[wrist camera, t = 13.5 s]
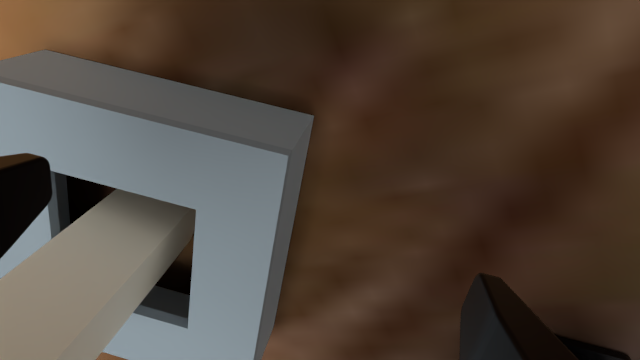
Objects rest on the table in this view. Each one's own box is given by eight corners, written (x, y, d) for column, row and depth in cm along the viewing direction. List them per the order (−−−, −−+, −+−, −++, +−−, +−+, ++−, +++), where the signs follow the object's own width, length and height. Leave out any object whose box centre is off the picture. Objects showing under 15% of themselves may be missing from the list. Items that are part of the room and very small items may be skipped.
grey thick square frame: (314, 115, 22) (288, 156, 17) (273, 326, 28) (247, 395, 24) (44, 49, 23) (-45, 71, 18) (65, 266, 29) (3, 322, 25)
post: (206, 191, 25) (38, 379, 14) (191, 239, 26) (30, 441, 15) (147, 165, 25) (-69, 332, 14) (135, 214, 26) (-66, 399, 15)
